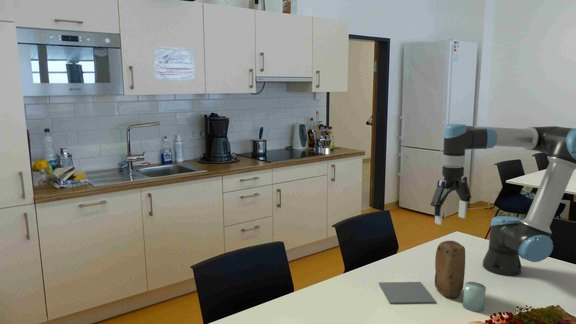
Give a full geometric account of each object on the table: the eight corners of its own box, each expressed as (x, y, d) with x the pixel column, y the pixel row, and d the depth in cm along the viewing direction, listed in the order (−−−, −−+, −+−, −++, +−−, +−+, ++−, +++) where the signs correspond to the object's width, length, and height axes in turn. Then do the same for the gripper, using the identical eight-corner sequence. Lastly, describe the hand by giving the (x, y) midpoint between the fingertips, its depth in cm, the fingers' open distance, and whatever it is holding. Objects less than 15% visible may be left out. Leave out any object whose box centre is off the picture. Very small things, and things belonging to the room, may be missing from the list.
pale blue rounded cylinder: (478, 302, 158) (479, 281, 157) (487, 311, 151) (489, 290, 150) (459, 302, 158) (461, 281, 156) (468, 312, 151) (470, 291, 150)
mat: (420, 283, 173) (420, 281, 173) (435, 303, 157) (435, 301, 157) (378, 283, 172) (378, 282, 172) (389, 303, 156) (389, 302, 156)
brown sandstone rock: (464, 298, 161) (468, 247, 157) (446, 300, 159) (450, 249, 156) (447, 285, 171) (451, 237, 168) (430, 287, 169) (433, 238, 166)
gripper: (466, 160, 169) (463, 212, 173) (422, 168, 156) (419, 223, 160) (483, 163, 163) (479, 217, 167) (438, 171, 150) (436, 229, 154)
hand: (450, 220), depth 164 cm, fingers open, 13 cm apart
